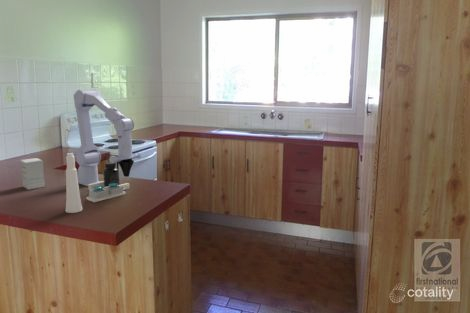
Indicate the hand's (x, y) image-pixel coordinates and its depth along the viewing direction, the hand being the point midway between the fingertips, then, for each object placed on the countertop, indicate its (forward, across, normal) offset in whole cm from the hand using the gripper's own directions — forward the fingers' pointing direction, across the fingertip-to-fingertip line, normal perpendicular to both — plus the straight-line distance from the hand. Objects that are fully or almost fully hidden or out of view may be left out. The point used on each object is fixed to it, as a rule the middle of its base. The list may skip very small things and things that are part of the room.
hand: (126, 176), depth 165 cm
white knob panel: (+7, -7, +6) cm, 12 cm away
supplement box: (+7, -24, +38) cm, 45 cm away
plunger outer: (+6, -14, 0) cm, 15 cm away
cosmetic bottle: (+7, -28, -6) cm, 29 cm away
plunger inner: (+6, -7, 0) cm, 9 cm away
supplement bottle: (+7, -2, +9) cm, 12 cm away
